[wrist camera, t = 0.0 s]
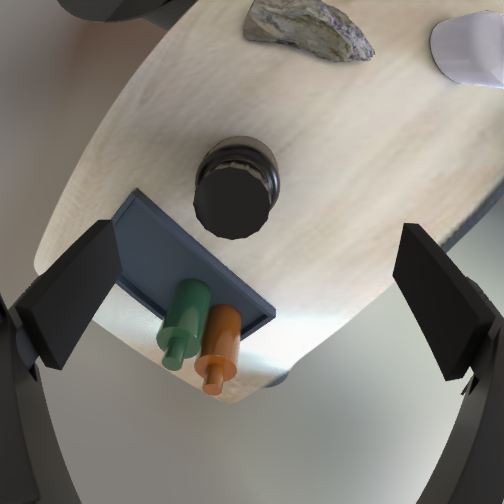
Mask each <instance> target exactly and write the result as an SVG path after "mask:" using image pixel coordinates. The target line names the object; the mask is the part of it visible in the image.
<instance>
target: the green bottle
mask: <svg viewBox="0 0 504 504" xmlns="http://www.w3.org/2000/svg"><path fill="white" fill-rule="evenodd" d="M211 300H212V292H211V290H210V288H209V287H208V285H207V284H205V283H204V282H202V281H201V280H198V279H193V278H188V279H184V280H182V281H180V282H179V283H178V284H177V286H176V288H175V291H174V293H173V296H172V298H171V301H170V303H169V306H168V308H167V311H166V313H165V316H164V318H163V321H162V323H161V326H160V328H159V331H158V333H157V337H156V340H157V344H158V346H159V347H160V348H161V349H162V350H163V351H164V352H165V353H164V356H163V359H162V364H163V366H164V367H165V368H167V369H169V370H172V371H177V370H180V369H181V368H182V364H183V360H184V359H187V358H191V357H194V356H195V355H197V354H198V352H199V351H200V347H201V343H202V338H203V334H204V330H205V325H206V321H207V317H208V313H209V309H210V304H211Z"/></svg>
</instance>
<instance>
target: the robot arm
mask: <svg viewBox="0 0 504 504" xmlns="http://www.w3.org/2000/svg"><path fill="white" fill-rule="evenodd" d="M122 272H123V269H122V265H121V260H120V256H119V251H118V247H117V242H116V237H115V232H114V227H113V222H112V220H98V221H97V222H95V223H94V224H93V225H92V226H91V227H90V228H89V229H88V230H87V231H86V232H85V233H84V234H83V235H82V236H81V237H80V238H79V239H77V240H76V241H75V242H74V243H73V244H72V245H71V246H70V247H69V248H68V249H67V250H66V251H65V252H64V253H63V254H62V255H61V256H60V257H59V258H58V259H57V260H56V261H55V262H54V263H53V265H52V266H51V267H50V268H49V269H48V270H47V271H46V272H45V273H43V274H42V275H40V276H39V277H37V278H36V279H35V281H34V282H33V283H32V284H31V286H29V287H28V288H27V289H26V290H25V292H24V293H23V294H22V295H21V296H20V297H19V298H18V299H17V300H16V302H15V303H14V304H13V305H12V306H11V307H10V309H9V310H7V308H6V305H5V303H4V301H3V299H2V296H1V294H0V504H82V503H81V501H80V499H79V497H78V494H77V492H76V490H75V487H74V485H73V483H72V480H71V478H70V475H69V472H68V470H67V467H66V465H65V462H64V459H63V457H62V454H61V451H60V448H59V445H58V442H57V439H56V435H55V432H54V429H53V425H52V422H51V419H50V415H49V411H48V407H47V404H46V399H45V396H44V392H43V387H42V382H41V378H40V373H39V368H38V366H37V364H36V363H35V361H36V359H37V358H38V356H40V357H41V359H42V361H43V363H44V364H45V366H46V367H49V368H53V369H57V370H62V368H63V366H64V365H65V363H66V361H67V359H68V358H69V356H70V354H71V353H72V351H73V349H74V347H75V346H76V344H77V342H78V341H79V339H80V337H81V336H82V334H83V332H84V331H85V329H86V327H87V326H88V324H89V322H90V321H91V319H92V318H93V316H94V315H95V313H96V311H97V310H98V308H99V307H100V305H101V304H102V302H103V300H104V299H105V297H106V296H107V294H108V293H109V291H110V290H111V288H112V287H113V285H114V284H115V282H116V281H117V279H118V278H119V276H120V275H121V273H122ZM392 276H393V278H394V279H395V281H396V283H397V284H398V286H399V288H400V290H401V292H402V293H403V295H404V297H405V299H406V301H407V303H408V305H409V307H410V309H411V311H412V312H413V314H414V316H415V318H416V320H417V322H418V324H419V326H420V328H421V330H422V332H423V334H424V336H425V338H426V340H427V342H428V344H429V346H430V348H431V350H432V352H433V355H434V357H435V359H436V361H437V363H438V365H439V367H440V370H441V372H442V374H443V376H444V379H445V381H450V380H455V379H460V378H463V376H464V375H465V373H466V372H467V370H468V368H469V367H471V368H472V370H473V372H474V374H473V376H472V377H471V379H470V381H469V382H468V384H467V385H466V387H465V388H464V390H463V391H462V393H461V395H464V393H465V392H466V393H465V396H464V399H463V402H462V405H461V408H460V411H459V413H458V416H457V419H456V421H455V424H454V427H453V429H452V431H451V434H450V436H449V439H448V441H447V443H446V446H445V448H444V450H443V452H442V455H441V457H440V459H439V461H438V463H437V465H436V467H435V469H434V471H433V473H432V475H431V477H430V479H429V481H428V483H427V485H426V487H425V489H424V491H423V492H422V494H421V496H420V498H419V499H418V501H417V503H416V504H502V502H503V499H504V318H503V317H502V315H501V314H500V312H499V311H498V310H497V309H496V307H495V306H494V305H493V303H492V302H491V301H490V300H489V299H488V297H487V296H486V295H485V294H484V293H483V291H482V289H481V288H480V287H479V286H478V284H477V283H475V282H474V281H472V280H471V279H469V278H468V277H465V276H464V275H463V274H462V273H461V271H460V270H459V269H458V267H457V266H456V265H455V264H454V263H453V262H452V260H451V259H450V258H449V257H448V256H447V255H446V253H445V252H444V251H443V250H442V249H441V248H440V247H439V246H438V244H437V243H436V242H435V241H434V240H433V239H432V238H431V237H430V236H429V235H428V234H427V232H426V231H425V230H424V229H423V228H422V227H421V226H420V225H419V224H414V223H404V225H403V230H402V235H401V240H400V245H399V249H398V254H397V258H396V262H395V267H394V271H393V275H392Z"/></svg>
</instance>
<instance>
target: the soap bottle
mask: <svg viewBox="0 0 504 504" xmlns="http://www.w3.org/2000/svg"><path fill="white" fill-rule="evenodd" d="M430 41H431V52H432V54H433V57H434V60H435V62H436V64H437V65H438V67H439V68H440V70H441V71H442V72H443V73H444V74H445V75H446V76H447V77H448V78H450V79H451V80H453V81H455V82H457V83H460V84H471V85H481V86H490V87H498V88H504V15H503V14H500V13H497V12H493V11H488V10H486V11H482V12H477V13H472V14H468V15H464V16H460V17H456V18H452V19H448V20H445V21H442V22H439V23H438V24H437V26H436V27H435V28H434V29H433V32H432V35H431V39H430Z"/></svg>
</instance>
